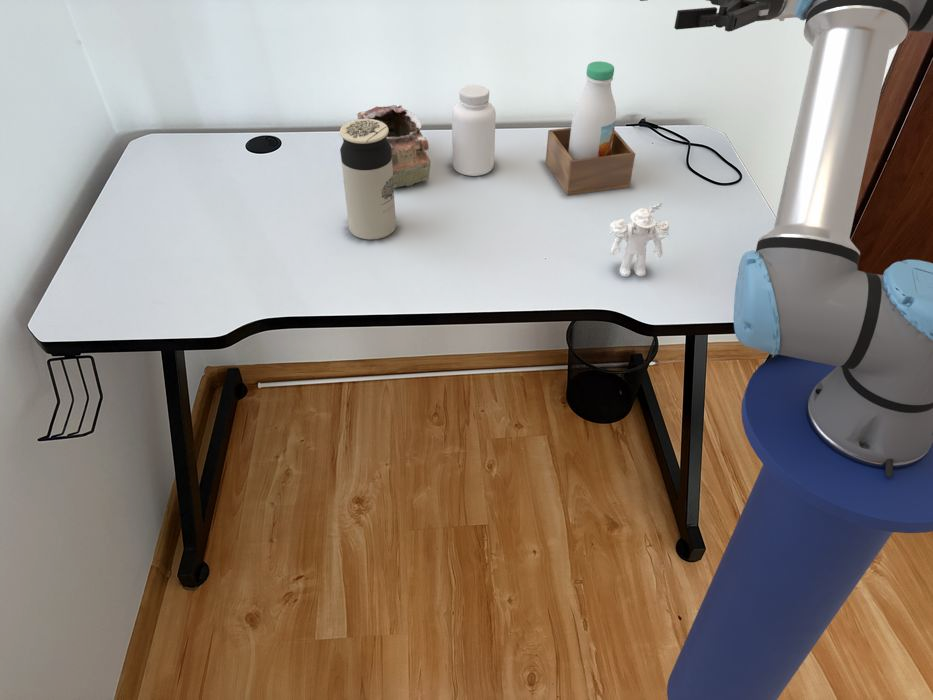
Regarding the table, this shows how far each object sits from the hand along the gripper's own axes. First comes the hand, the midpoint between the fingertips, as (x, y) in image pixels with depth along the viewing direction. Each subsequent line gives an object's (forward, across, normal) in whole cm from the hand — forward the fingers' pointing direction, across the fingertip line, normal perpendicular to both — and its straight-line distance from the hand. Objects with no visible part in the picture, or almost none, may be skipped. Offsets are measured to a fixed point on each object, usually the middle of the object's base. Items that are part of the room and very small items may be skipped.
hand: (658, 5), depth 124 cm
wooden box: (+9, 0, -30) cm, 31 cm away
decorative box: (+45, +12, -30) cm, 55 cm away
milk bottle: (+9, 0, -29) cm, 31 cm away
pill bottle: (+29, +8, -30) cm, 42 cm away
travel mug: (+51, -8, -30) cm, 60 cm away
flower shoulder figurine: (+13, -30, -30) cm, 44 cm away
